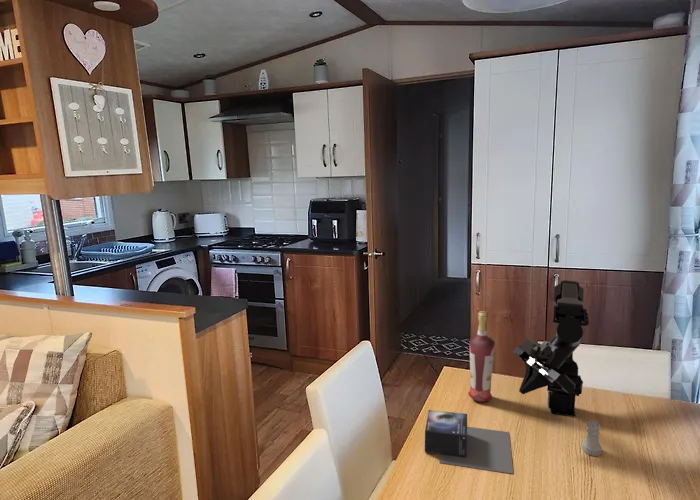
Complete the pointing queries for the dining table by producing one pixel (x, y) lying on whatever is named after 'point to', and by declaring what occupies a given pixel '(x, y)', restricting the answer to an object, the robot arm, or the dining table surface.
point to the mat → (484, 451)
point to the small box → (446, 433)
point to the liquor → (481, 361)
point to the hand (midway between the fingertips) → (520, 392)
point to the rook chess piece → (592, 439)
